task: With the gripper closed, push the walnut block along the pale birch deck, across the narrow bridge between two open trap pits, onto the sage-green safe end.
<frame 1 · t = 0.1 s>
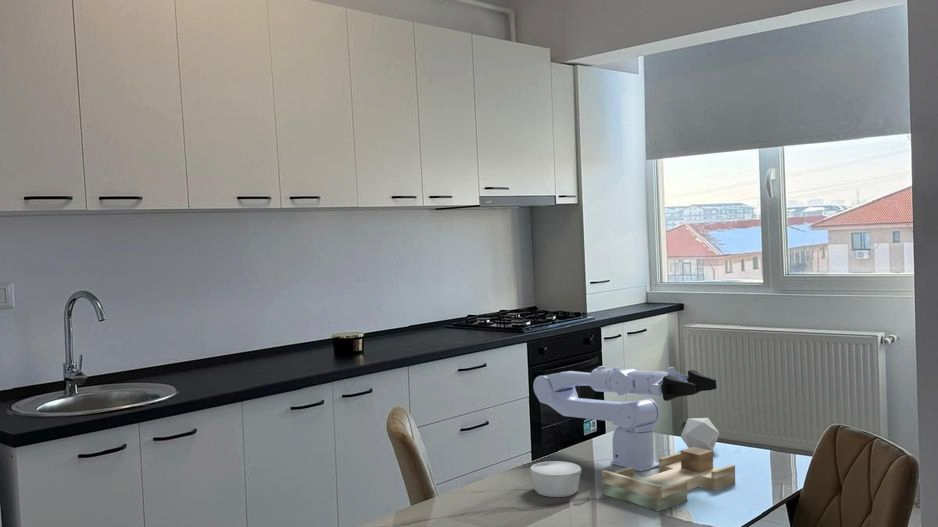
hand: (705, 386, 182), 22 cm above the table, tool horizontal, fingers open, 7 cm apart
die: (700, 451, 210), on the table
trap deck: (669, 488, 180), on the table
ramekin: (556, 492, 180), on the table
walnut block: (697, 468, 186), point 2 cm above the table, touching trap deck
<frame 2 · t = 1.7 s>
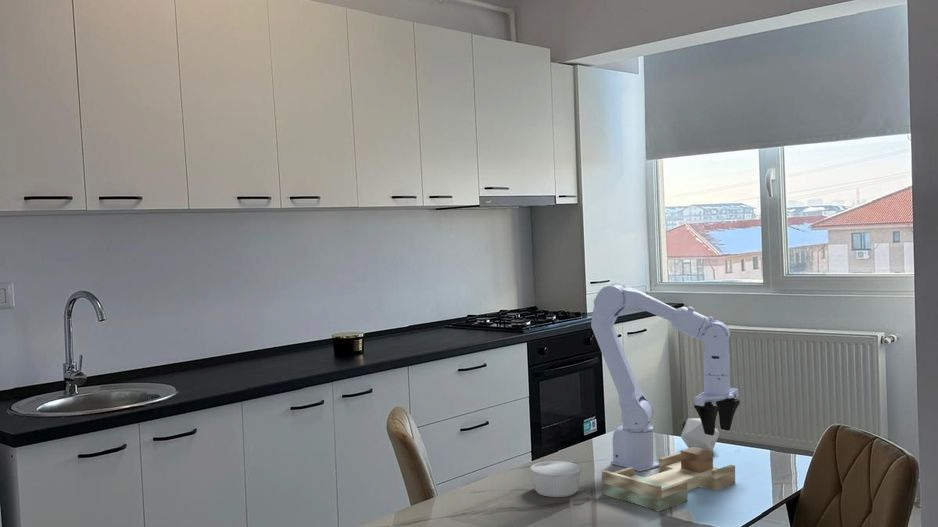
hand: (717, 432, 190), 9 cm above the table, tool pointing down, fingers open, 6 cm apart
nothing on the table moved.
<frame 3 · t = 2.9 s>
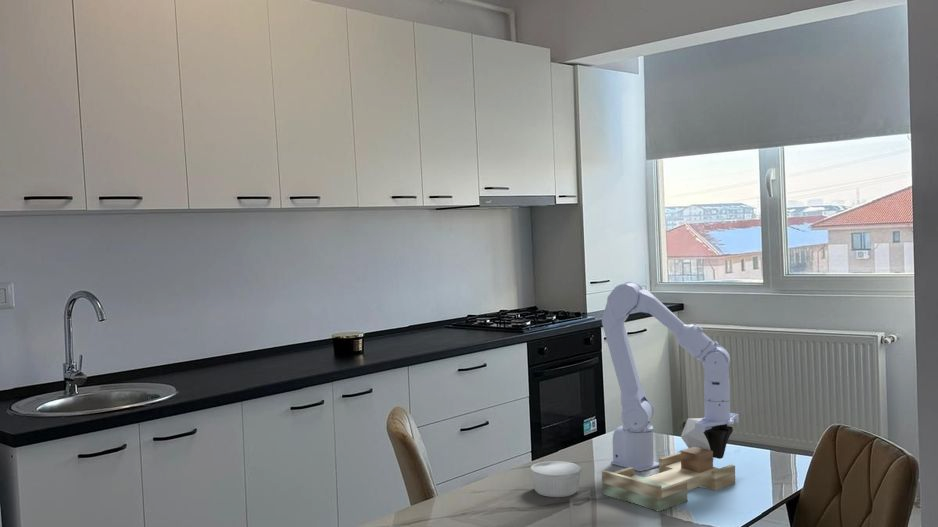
hand: (717, 457, 191), 3 cm above the table, tool pointing down, fingers closed
nothing on the table moved.
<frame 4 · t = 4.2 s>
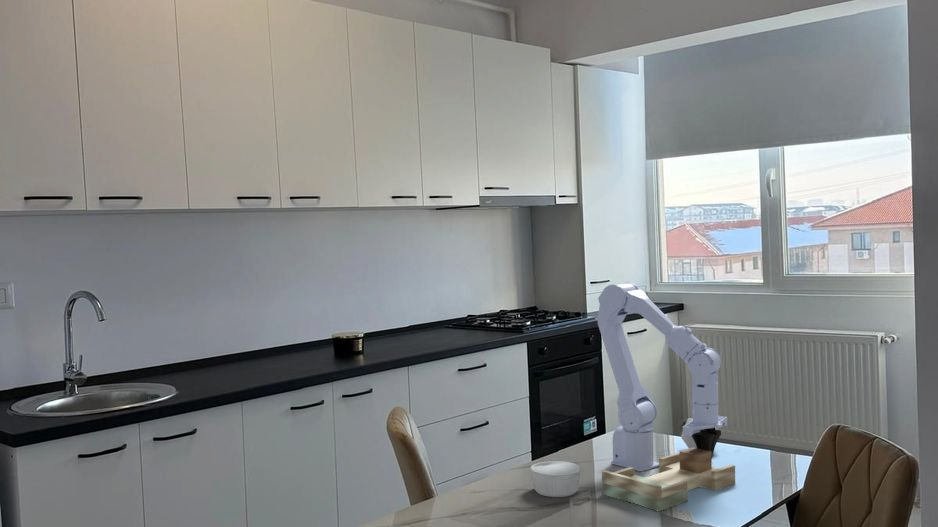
hand: (705, 461, 188), 3 cm above the table, tool pointing down, fingers closed
walnut block: (695, 468, 185), point 2 cm above the table, touching gripper, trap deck
everything else where it was.
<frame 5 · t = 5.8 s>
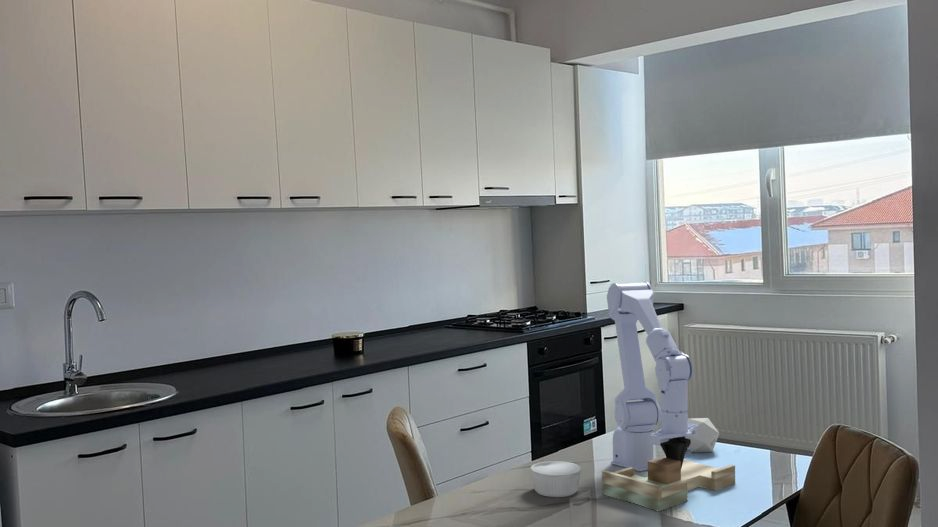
hand: (675, 471, 181), 3 cm above the table, tool pointing down, fingers closed
walnut block: (664, 479, 178), point 3 cm above the table, touching gripper, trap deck
everything else where it was.
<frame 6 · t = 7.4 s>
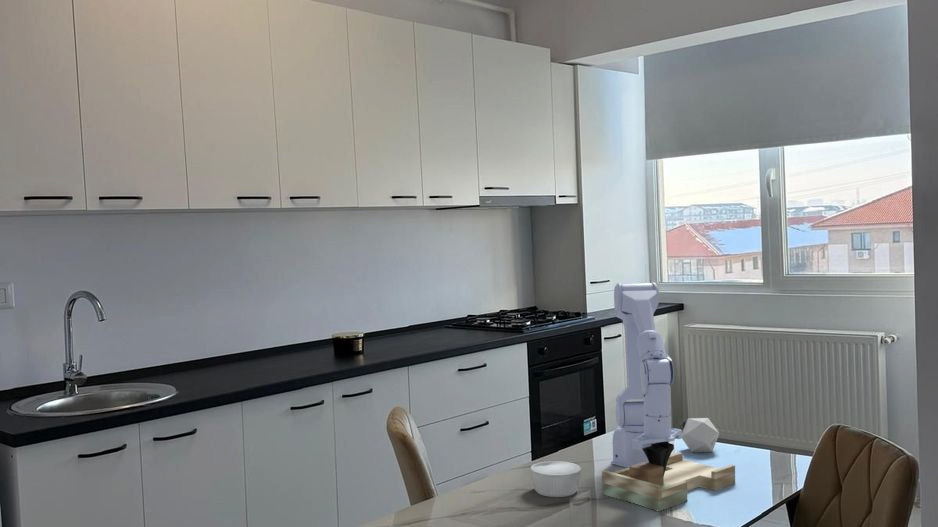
hand: (658, 477, 177), 3 cm above the table, tool pointing down, fingers closed
walnut block: (646, 485, 174), point 2 cm above the table, touching gripper, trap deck
everything else where it was.
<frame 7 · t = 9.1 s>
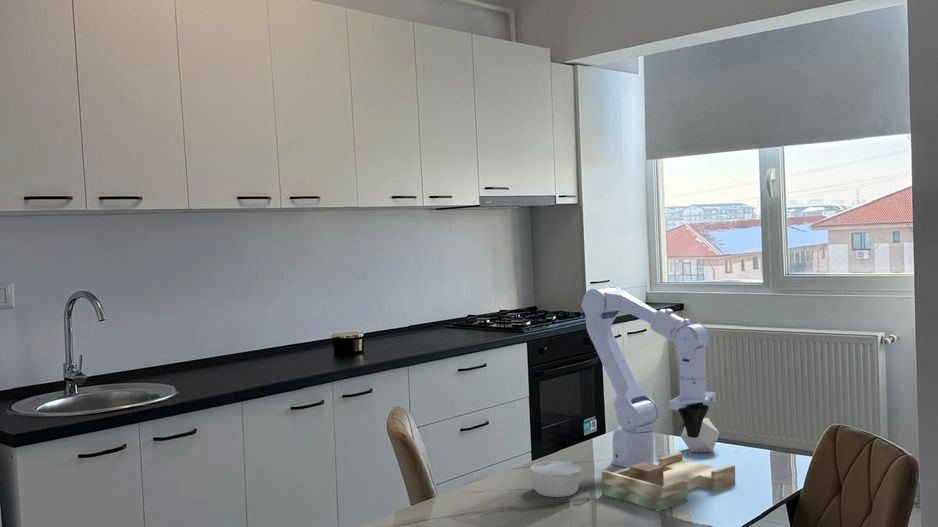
hand: (693, 436, 187), 9 cm above the table, tool pointing down, fingers closed
walnut block: (646, 485, 174), point 2 cm above the table, touching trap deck
everything else where it was.
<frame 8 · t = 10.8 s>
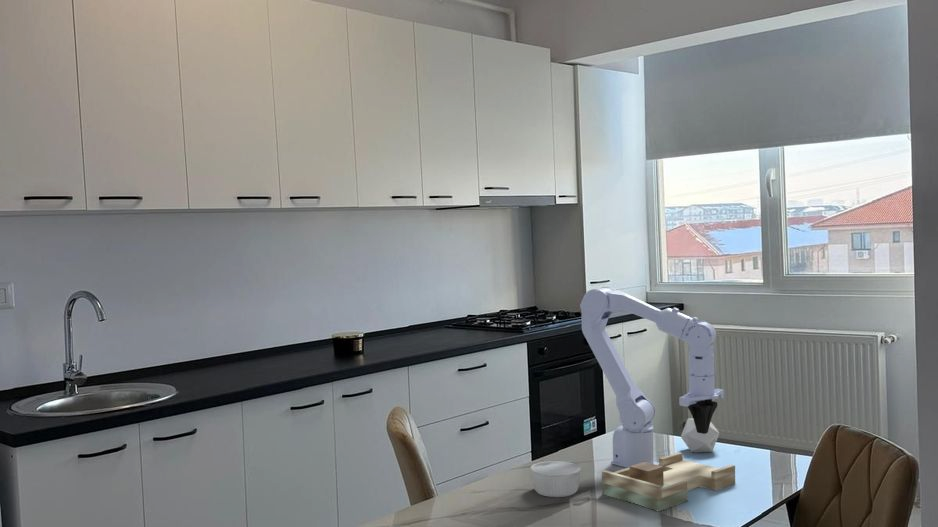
hand: (702, 432, 190), 9 cm above the table, tool pointing down, fingers closed
nothing on the table moved.
at the end: walnut block inside the target area (0.1 cm from its centre), point 2.5 cm above the table; walnut block tilted 0°; walnut block touching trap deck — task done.
